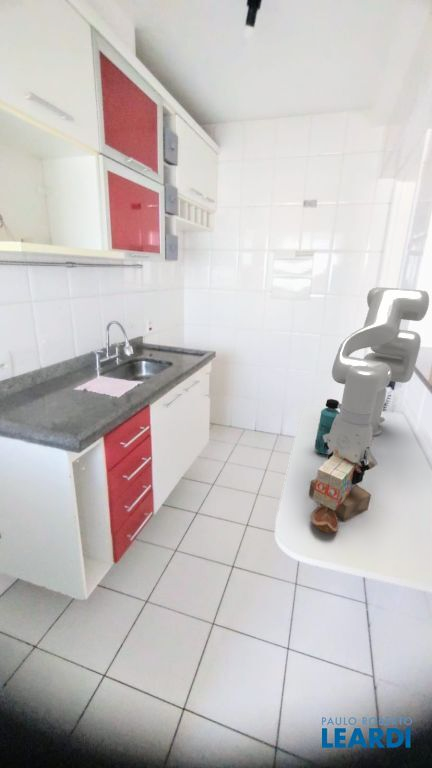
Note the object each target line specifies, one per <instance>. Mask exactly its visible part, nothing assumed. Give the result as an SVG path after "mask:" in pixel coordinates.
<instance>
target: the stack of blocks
mask: <svg viewBox="0 0 432 768" xmlns="http://www.w3.org/2000/svg"><path fill="white" fill-rule="evenodd" d="M373 439H374V436H372V440H373ZM338 448H339V447H338V446H337V445H335V447H334V451H333V455H332V456H331V457H330V458H329V459H328V458H327V460H326V461H325V462H324V463H322V464H321V466H320V467H319V468H318V470H317V475H316V478H317V479H316V478H315V479H316V482H315V488H314V494H313V498H312V500H313V501H315V502H316V503H318V502H319V503H321V504H323V505H325V506H327V507H329V508H331V509H333V510H336V509H337V508H338V506H339V505H340V504H341V503H342V502H343V501H344V499H345V498H346V497H347V496H348V494H349V493H350V491H351V490H352V489H353V487H354V486H355V485H357V484H355V485H353V484H352V483H351V482H352V477H353V473H354V471H355V470H356V467H355V463H353V462H351V461H349V460H347V459H345V458H344V457H342V456H341V455H339V454H338ZM365 461H366V465H367V464H368V460H365ZM360 466H361V463H360ZM365 474H366V471H364V475H363V477H364V476H365ZM319 503H318V504H319Z"/></svg>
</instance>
